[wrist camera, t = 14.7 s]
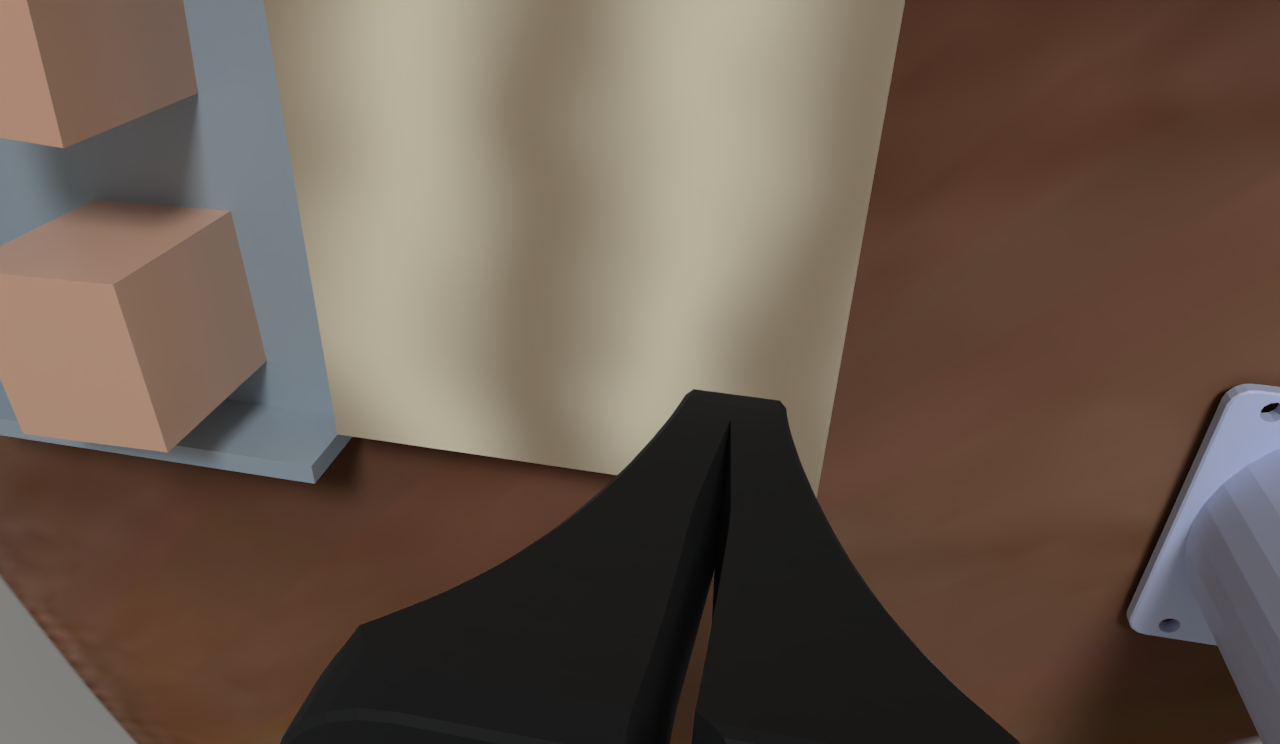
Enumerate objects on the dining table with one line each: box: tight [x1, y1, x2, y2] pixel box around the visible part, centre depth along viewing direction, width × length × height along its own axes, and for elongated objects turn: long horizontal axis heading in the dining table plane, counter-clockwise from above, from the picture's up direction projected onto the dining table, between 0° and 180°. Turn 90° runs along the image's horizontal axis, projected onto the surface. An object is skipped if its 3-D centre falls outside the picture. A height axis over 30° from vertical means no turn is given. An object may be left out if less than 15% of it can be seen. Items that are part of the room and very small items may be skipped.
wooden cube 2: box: [0, 200, 267, 453], centre depth 23 cm, size 4×4×4 cm
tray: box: [0, 0, 352, 484], centre depth 22 cm, size 12×16×3 cm
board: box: [263, 0, 905, 498], centre depth 21 cm, size 13×14×2 cm
